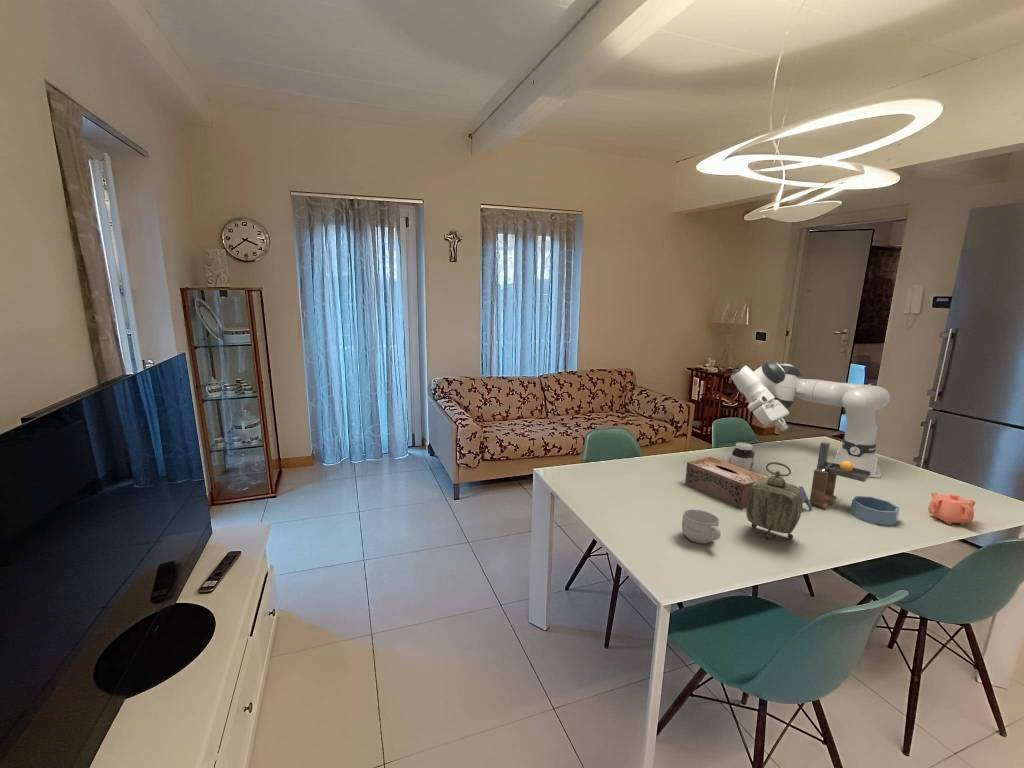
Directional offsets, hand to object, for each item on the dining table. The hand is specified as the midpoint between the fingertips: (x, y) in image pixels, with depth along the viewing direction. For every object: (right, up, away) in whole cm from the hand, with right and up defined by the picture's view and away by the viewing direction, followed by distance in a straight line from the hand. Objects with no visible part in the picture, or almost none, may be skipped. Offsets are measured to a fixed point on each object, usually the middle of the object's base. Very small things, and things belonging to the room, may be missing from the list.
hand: (785, 429), depth 181 cm
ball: (+14, -12, -13) cm, 23 cm away
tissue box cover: (-24, -26, +1) cm, 35 cm away
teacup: (-48, -32, -36) cm, 68 cm away
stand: (+10, -27, -6) cm, 29 cm away
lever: (+13, -16, -12) cm, 24 cm away
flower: (-3, -28, -11) cm, 30 cm away
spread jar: (-4, -21, +29) cm, 35 cm away
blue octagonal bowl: (+21, -29, -18) cm, 40 cm away
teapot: (+46, -30, -19) cm, 59 cm away
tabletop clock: (-25, -32, -32) cm, 51 cm away
